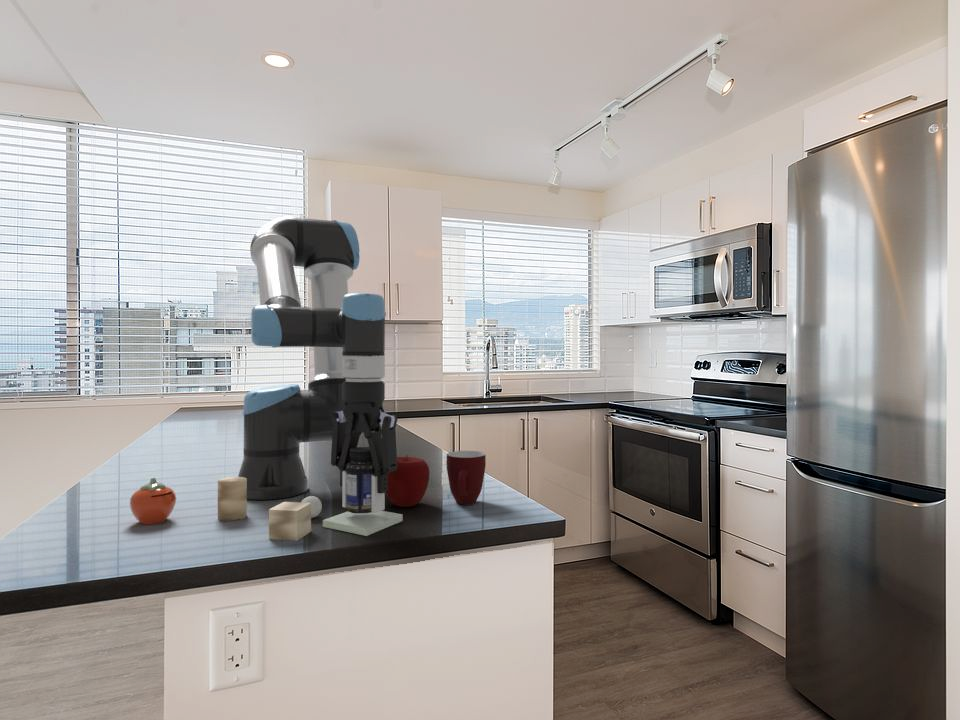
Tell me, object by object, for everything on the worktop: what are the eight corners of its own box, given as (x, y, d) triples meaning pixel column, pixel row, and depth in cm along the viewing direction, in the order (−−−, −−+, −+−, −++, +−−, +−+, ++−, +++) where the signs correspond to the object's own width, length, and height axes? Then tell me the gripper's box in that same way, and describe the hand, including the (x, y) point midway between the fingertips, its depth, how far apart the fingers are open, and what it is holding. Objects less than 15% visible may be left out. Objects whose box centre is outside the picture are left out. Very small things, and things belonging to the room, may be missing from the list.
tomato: (145, 530, 100) (144, 484, 100) (120, 523, 104) (120, 479, 103) (185, 519, 106) (185, 476, 106) (160, 513, 110) (160, 471, 110)
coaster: (322, 526, 102) (322, 520, 102) (360, 513, 111) (360, 506, 111) (366, 535, 97) (366, 528, 97) (402, 520, 106) (402, 514, 106)
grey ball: (294, 518, 107) (294, 497, 107) (310, 513, 110) (310, 492, 110) (310, 522, 105) (310, 500, 105) (326, 516, 108) (326, 495, 108)
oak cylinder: (211, 518, 107) (211, 480, 107) (234, 512, 111) (234, 475, 111) (229, 522, 105) (229, 484, 104) (252, 515, 109) (252, 478, 109)
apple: (431, 510, 113) (431, 459, 113) (381, 512, 111) (381, 461, 111) (427, 498, 122) (427, 451, 122) (381, 500, 121) (381, 452, 120)
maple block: (269, 539, 96) (268, 509, 95) (284, 530, 100) (284, 501, 100) (297, 541, 95) (297, 510, 95) (310, 531, 100) (310, 503, 100)
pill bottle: (381, 504, 107) (382, 445, 107) (378, 514, 101) (379, 451, 101) (348, 505, 107) (348, 445, 107) (343, 514, 101) (343, 451, 100)
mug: (486, 511, 113) (486, 460, 113) (444, 511, 113) (445, 460, 112) (484, 497, 123) (485, 450, 123) (447, 497, 123) (447, 450, 123)
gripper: (309, 379, 105) (309, 505, 105) (392, 382, 96) (392, 521, 96) (338, 377, 112) (338, 496, 112) (419, 380, 102) (418, 510, 103)
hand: (363, 507), depth 104 cm, fingers closed on pill bottle, 6 cm apart
